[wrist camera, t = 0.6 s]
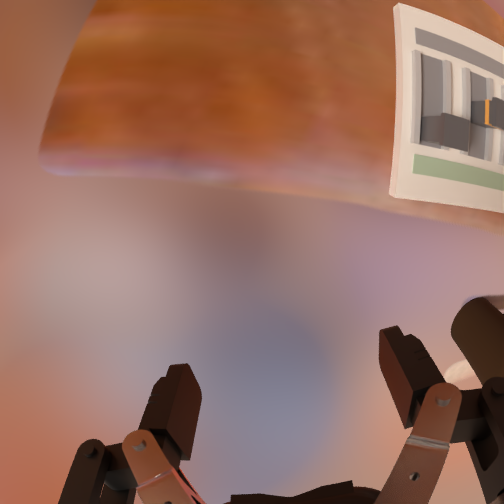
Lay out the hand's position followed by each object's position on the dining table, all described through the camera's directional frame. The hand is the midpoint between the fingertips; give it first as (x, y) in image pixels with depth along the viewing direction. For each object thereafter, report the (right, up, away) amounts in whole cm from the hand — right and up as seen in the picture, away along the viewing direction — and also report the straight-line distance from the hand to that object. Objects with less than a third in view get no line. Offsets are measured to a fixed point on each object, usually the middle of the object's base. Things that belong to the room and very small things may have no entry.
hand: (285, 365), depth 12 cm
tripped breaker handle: (+28, +23, +17) cm, 40 cm away
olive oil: (+37, -7, +31) cm, 49 cm away
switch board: (+28, +23, +19) cm, 42 cm away
